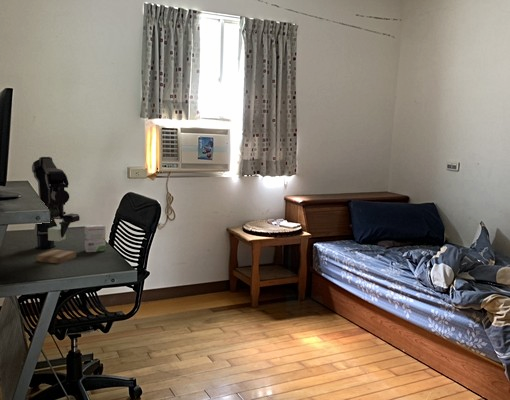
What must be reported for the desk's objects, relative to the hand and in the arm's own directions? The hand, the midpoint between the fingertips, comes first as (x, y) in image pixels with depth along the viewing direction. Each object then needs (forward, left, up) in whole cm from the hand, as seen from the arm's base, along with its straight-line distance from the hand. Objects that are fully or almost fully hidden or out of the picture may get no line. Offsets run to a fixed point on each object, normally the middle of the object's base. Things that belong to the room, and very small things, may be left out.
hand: (56, 236), depth 208 cm
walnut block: (0, -1, -10) cm, 10 cm away
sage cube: (0, 0, -1) cm, 1 cm away
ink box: (+7, +18, -10) cm, 22 cm away
